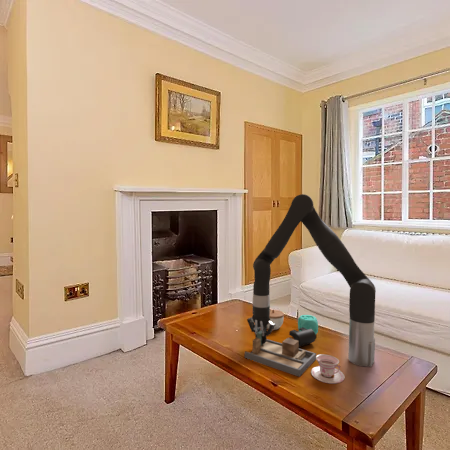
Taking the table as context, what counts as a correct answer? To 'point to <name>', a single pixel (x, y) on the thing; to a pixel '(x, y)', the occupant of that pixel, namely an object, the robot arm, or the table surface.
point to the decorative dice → (308, 323)
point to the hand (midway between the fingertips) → (260, 342)
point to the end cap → (303, 336)
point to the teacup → (327, 369)
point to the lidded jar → (276, 318)
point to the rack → (305, 361)
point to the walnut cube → (290, 347)
